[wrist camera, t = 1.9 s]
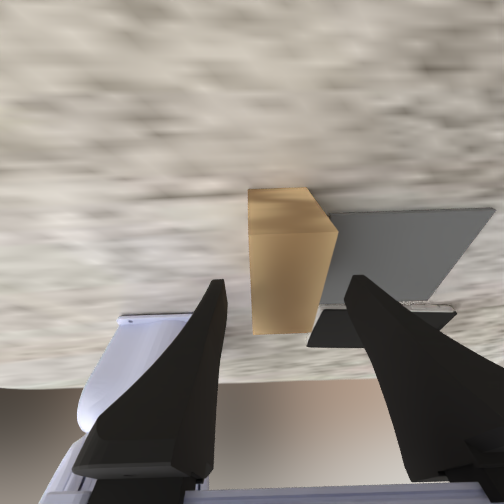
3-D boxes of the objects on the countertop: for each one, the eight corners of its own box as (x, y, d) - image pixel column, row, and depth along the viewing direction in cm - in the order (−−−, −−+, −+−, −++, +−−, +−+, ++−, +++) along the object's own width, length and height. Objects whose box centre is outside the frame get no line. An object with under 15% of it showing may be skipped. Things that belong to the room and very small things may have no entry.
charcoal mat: (309, 301, 21) (310, 304, 20) (329, 213, 15) (331, 215, 14) (424, 297, 21) (427, 300, 20) (491, 207, 15) (496, 210, 14)
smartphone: (321, 308, 20) (461, 310, 21) (317, 298, 21) (451, 301, 22) (305, 348, 25) (419, 349, 26) (303, 339, 26) (413, 340, 27)
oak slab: (251, 274, 18) (252, 334, 14) (247, 188, 14) (248, 235, 9) (294, 273, 18) (311, 332, 14) (305, 186, 14) (338, 231, 9)
